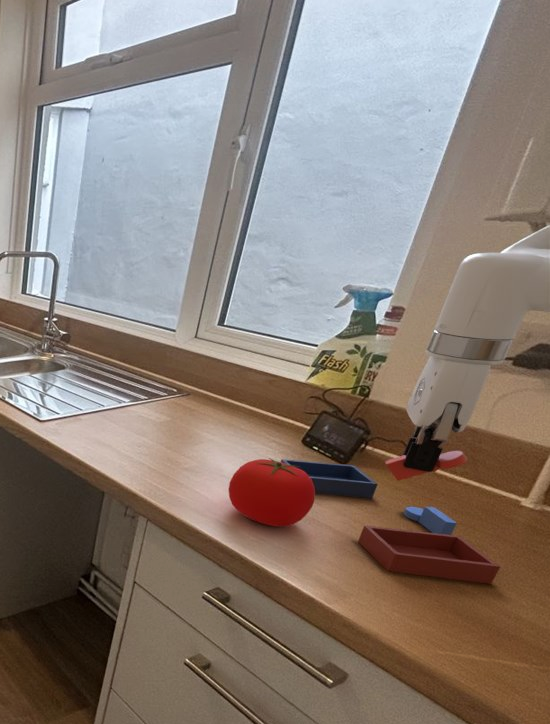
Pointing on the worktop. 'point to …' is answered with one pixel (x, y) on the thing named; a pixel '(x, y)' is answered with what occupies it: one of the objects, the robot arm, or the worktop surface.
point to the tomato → (272, 492)
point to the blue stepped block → (431, 519)
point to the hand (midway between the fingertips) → (416, 466)
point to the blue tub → (336, 478)
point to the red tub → (428, 554)
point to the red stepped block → (443, 462)
